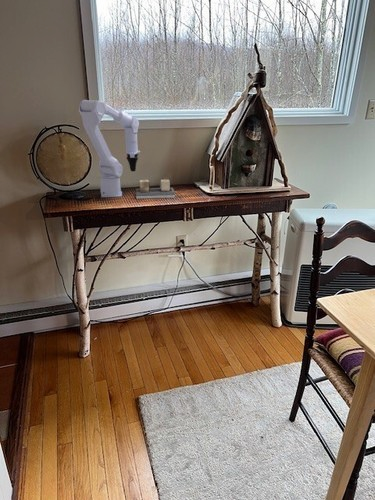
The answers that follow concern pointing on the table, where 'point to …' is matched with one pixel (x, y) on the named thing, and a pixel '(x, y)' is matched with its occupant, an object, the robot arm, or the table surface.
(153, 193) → the rail
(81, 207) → the table surface
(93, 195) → the table surface
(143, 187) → the finger
